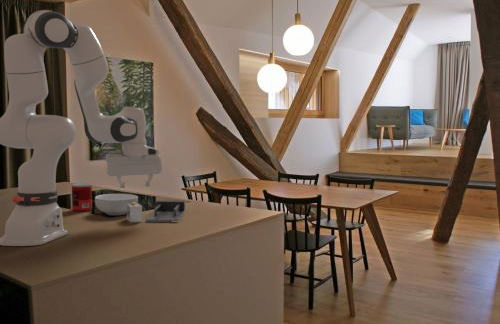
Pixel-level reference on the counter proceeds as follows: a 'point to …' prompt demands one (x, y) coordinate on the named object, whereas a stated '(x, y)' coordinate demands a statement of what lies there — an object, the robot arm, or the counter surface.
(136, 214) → the lock block
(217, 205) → the counter surface
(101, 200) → the cereal bowl
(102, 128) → the robot arm
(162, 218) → the coupler rail
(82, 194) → the canned food
